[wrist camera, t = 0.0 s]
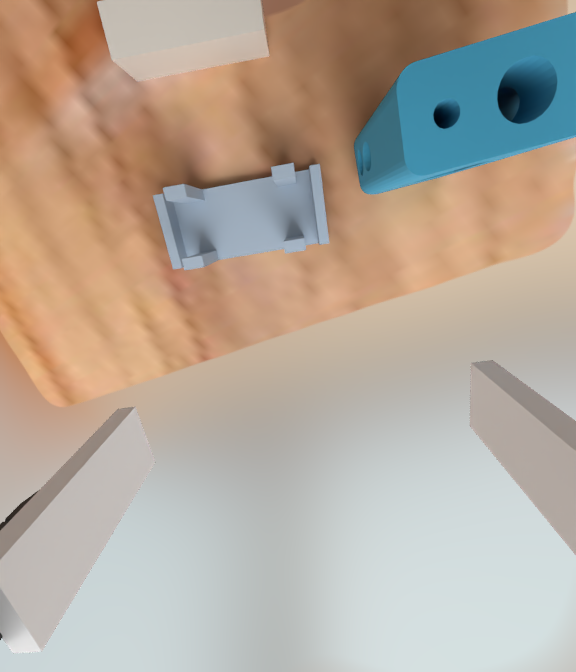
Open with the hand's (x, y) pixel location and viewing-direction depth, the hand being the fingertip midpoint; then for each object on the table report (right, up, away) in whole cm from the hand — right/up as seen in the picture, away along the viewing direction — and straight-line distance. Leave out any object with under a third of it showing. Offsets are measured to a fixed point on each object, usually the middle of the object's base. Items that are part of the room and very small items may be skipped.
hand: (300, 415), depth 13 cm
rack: (-5, +16, +24) cm, 30 cm away
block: (+12, +22, +22) cm, 33 cm away
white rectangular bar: (-9, +32, +19) cm, 38 cm away
